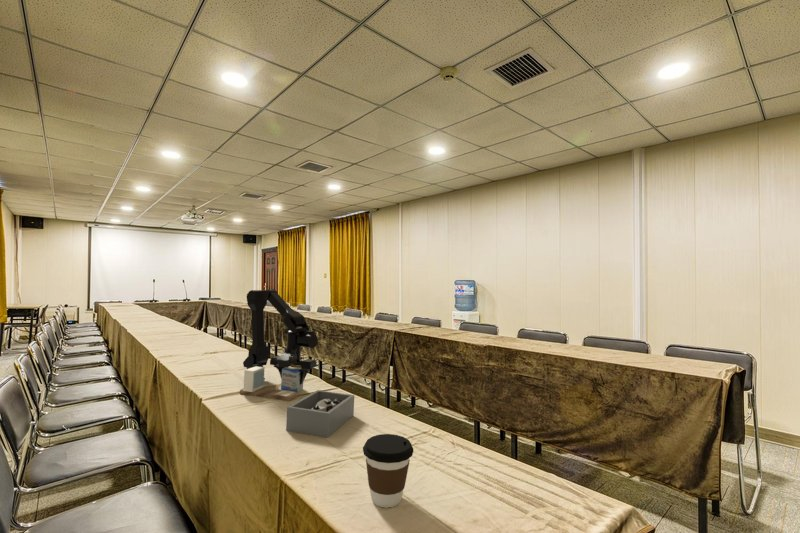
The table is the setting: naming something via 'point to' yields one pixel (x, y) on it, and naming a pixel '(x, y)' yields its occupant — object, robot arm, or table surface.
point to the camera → (326, 404)
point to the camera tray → (319, 414)
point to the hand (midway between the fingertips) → (292, 383)
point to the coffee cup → (387, 467)
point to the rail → (272, 394)
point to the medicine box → (291, 379)
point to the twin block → (253, 378)
